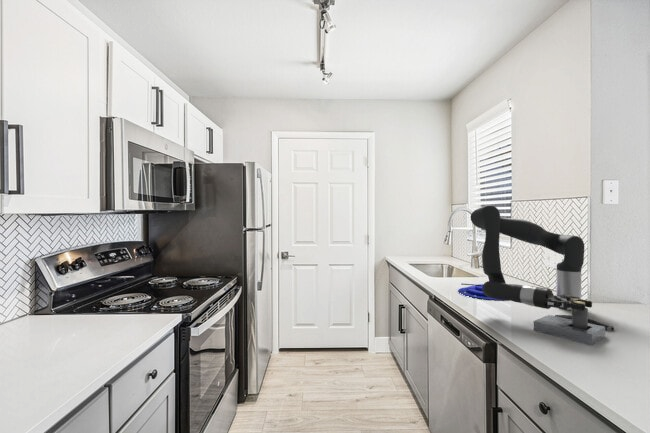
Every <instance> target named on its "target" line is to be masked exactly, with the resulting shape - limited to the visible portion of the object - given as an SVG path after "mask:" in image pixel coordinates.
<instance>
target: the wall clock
mask: <svg viewBox="0 0 650 433" xmlns="http://www.w3.org/2000/svg"><path fill="white" fill-rule="evenodd" d="M483 284H484V283H482V284H480V283H479V284H476V283H475V284H472V283H461V285H462V286H463V285H464V286H465V287H461V288H458V290H457V292H459V293H461V294H463V295H465V296H464V297H466V296H469V297H468V298H470V297H472V298H471V299H475V298H477V300H482V299H483V300H484V301H491V300H494V301H495V302H504V301H505V302H507V301H509V302H510V300H502V299H494V298H489V297H487V296H486V295H485V294H484V293H483V291H482V286H483ZM466 286H467V287H466ZM459 293H458V294H459ZM461 294H460V295H461ZM463 295H462V296H463ZM483 300H482V301H483ZM494 301H493V302H494Z"/></svg>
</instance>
